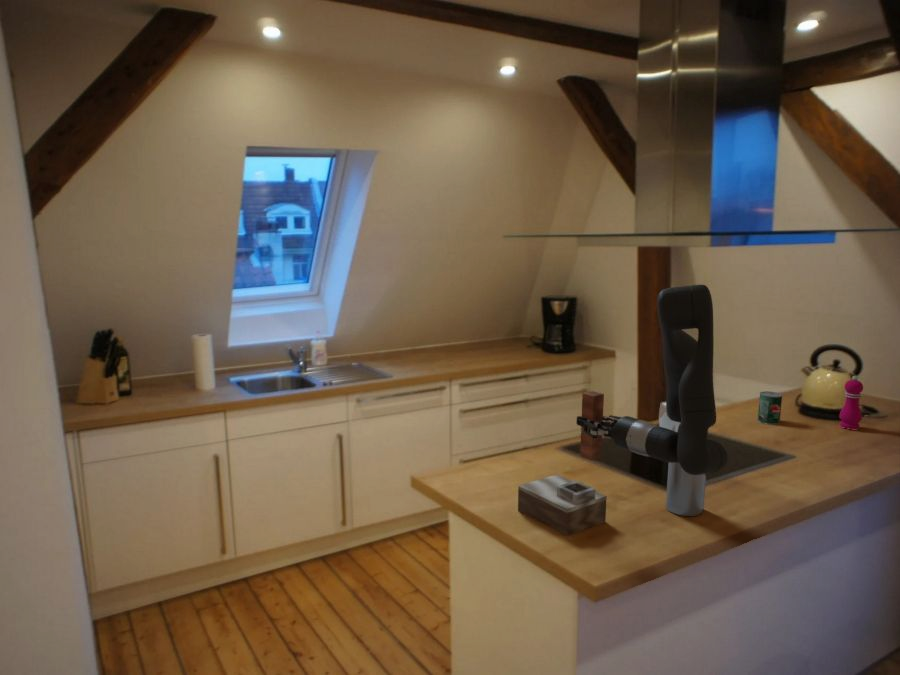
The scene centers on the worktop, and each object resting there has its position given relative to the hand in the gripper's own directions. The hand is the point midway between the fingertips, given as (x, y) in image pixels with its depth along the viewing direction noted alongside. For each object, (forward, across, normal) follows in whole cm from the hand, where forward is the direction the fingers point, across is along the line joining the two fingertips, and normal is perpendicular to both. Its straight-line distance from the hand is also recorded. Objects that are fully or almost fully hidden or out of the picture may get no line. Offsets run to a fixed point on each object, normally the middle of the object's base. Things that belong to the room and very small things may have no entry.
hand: (583, 418), depth 166 cm
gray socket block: (+7, 0, +28) cm, 29 cm away
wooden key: (-3, 0, +9) cm, 9 cm away
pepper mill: (+2, -144, +28) cm, 147 cm away
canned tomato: (+23, -127, +28) cm, 132 cm away
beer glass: (+27, -70, +28) cm, 80 cm away
